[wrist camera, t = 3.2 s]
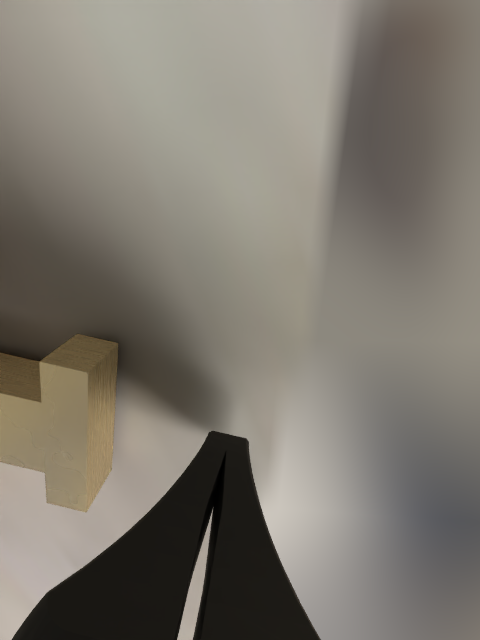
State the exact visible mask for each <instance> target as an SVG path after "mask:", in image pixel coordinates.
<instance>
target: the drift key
mask: <svg viewBox="0 0 480 640" xmlns="http://www.w3.org/2000/svg"><path fill="white" fill-rule="evenodd" d="M117 358H118V343H115V342H111V341H106V340H102V339H98V338H93V337H89V336H84V335H80V334H76V335H75V336H73V337H72V338H71V339H69V340H68V341H67V342H65V343H64V344H63V345H61V346H60V347H58V348H57V349H56V350H54V351H53V352H52V353H50V354H49V355H48V356H46V357H45V358H44V359H42V360H41V361H40V362H39V361H35V360H30V359H26V358H21V357H17V356H13V355H8V354H4V353H0V462H3V463H7V464H11V465H15V466H19V467H23V468H27V469H32V470H36V471H40V472H44V473H45V481H46V500H47V503H50V504H54V505H58V506H62V507H66V508H70V509H74V510H78V511H82V512H87V510H88V509H89V507H90V505H91V504H92V502H93V500H94V499H95V497H96V495H97V494H98V492H99V490H100V488H101V487H102V485H103V483H104V482H105V480H106V478H107V477H108V475H109V473H110V472H111V470H112V455H113V435H114V416H115V397H116V378H117Z"/></svg>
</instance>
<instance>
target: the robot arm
mask: <svg viewBox="0 0 480 640" xmlns="http://www.w3.org/2000/svg"><path fill="white" fill-rule="evenodd" d="M213 506H214V507H213ZM212 510H213V515H212V523H211V531H210V539H209V547H208V555H207V564H206V572H205V579H204V586H203V592H202V597H201V602H200V607H199V612H198V617H197V622H196V627H195V632H194V637H193V640H321V639H320V638H319V636H318V634H317V632H316V631H315V629H314V627H313V626H312V624H311V622H310V620H309V618H308V616H307V614H306V612H305V611H304V609H303V607H302V605H301V603H300V601H299V599H298V597H297V595H296V593H295V591H294V589H293V587H292V585H291V583H290V580H289V578H288V577H287V574H286V572H285V570H284V568H283V566H282V563H281V561H280V559H279V556H278V554H277V551H276V549H275V546H274V544H273V541H272V539H271V536H270V533H269V531H268V528H267V525H266V522H265V519H264V516H263V512H262V509H261V506H260V502H259V499H258V495H257V491H256V487H255V483H254V479H253V474H252V469H251V463H250V456H249V442H248V440H247V439H246V438H242V437H237V436H233V435H229V434H224V433H220V432H216V431H211V432H209V433H208V436H207V438H206V440H205V442H204V444H203V445H202V447H201V449H200V450H199V452H198V453H197V455H196V456H195V458H194V459H193V460H192V462H191V463H190V464H189V466H188V467H187V469H186V470H185V471H184V473H183V474H182V475H181V476H180V478H179V479H178V480H177V481H176V482H175V483H174V485H173V486H172V487H171V488H170V489H169V491H168V492H167V493H166V494H165V495H164V496H163V497H162V498H161V499H160V501H159V502H158V503H157V504H156V505H155V506H154V507H153V508H152V509H151V510H150V511H149V512H148V513H147V514H146V515H145V516H144V517H143V518H142V519H141V520H139V521H138V522H137V523H136V524H135V525H134V526H133V527H132V528H131V529H130V530H129V531H128V532H126V533H125V534H124V535H123V536H122V537H121V538H119V539H118V540H117V541H116V542H115V543H113V544H112V545H111V546H110V547H108V548H107V549H106V550H105V551H103V552H102V553H101V554H100V555H98V556H97V557H96V558H95V559H93V560H92V561H91V562H89V563H88V564H87V565H85V566H84V567H83V568H81V569H80V570H79V571H77V572H76V573H74V574H73V575H71V576H70V577H68V578H67V579H66V580H64V581H63V582H61V583H60V584H58V585H57V586H56V587H54V588H53V589H51V590H50V591H48V592H47V593H46V594H45V596H44V597H43V598H42V599H41V600H40V602H39V603H38V604H37V605H36V607H35V608H34V609H33V610H32V612H31V613H30V614H29V616H28V617H27V618H26V620H25V621H24V622H23V624H22V625H21V627H20V628H19V630H18V631H17V632H16V634H15V635H14V637H13V638H12V640H177V637H178V633H179V629H180V624H181V620H182V616H183V611H184V607H185V602H186V598H187V594H188V589H189V586H190V582H191V578H192V575H193V571H194V568H195V565H196V562H197V558H198V555H199V552H200V549H201V545H202V542H203V539H204V536H205V532H206V529H207V526H208V523H209V519H210V516H211V513H212Z"/></svg>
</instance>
